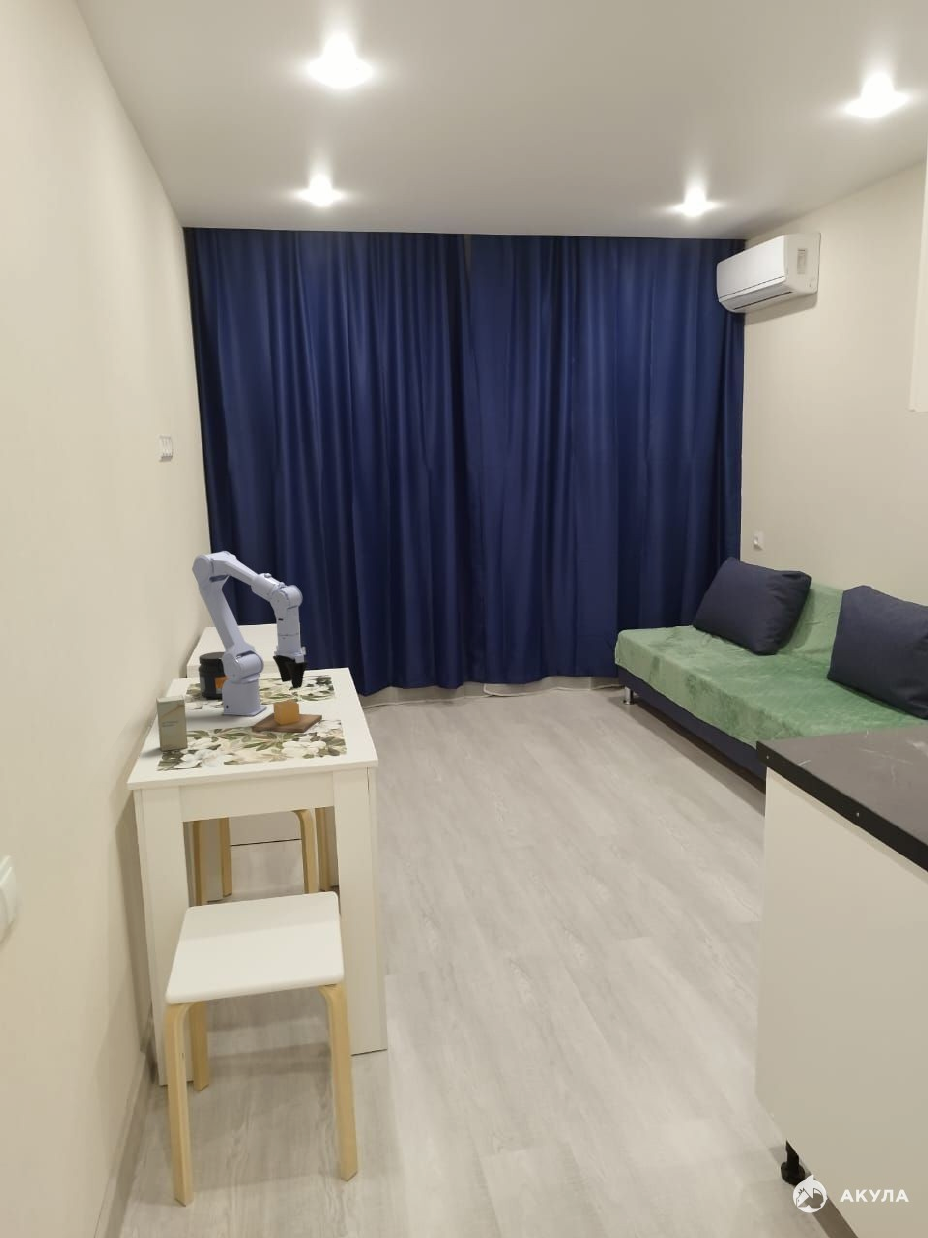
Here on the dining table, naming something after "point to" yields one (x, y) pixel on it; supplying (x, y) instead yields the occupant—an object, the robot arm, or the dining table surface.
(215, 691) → the supplement container
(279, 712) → the mustard tilted cube
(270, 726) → the brown flat block
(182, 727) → the skincare box
